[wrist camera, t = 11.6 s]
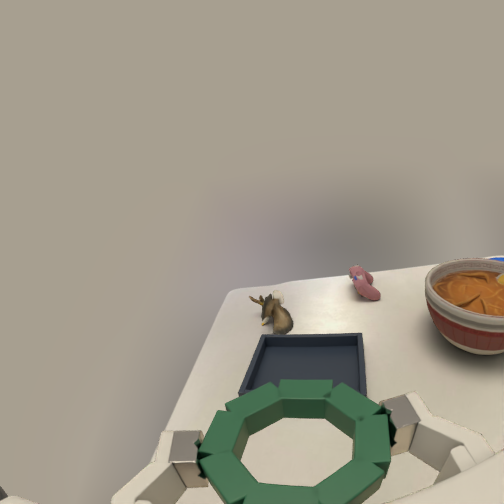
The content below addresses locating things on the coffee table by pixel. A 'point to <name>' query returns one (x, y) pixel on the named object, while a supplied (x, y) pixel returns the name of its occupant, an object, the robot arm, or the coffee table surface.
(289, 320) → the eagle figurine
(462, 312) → the bowl
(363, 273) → the video game controller
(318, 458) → the coffee table surface
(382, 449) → the ring
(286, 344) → the tray
